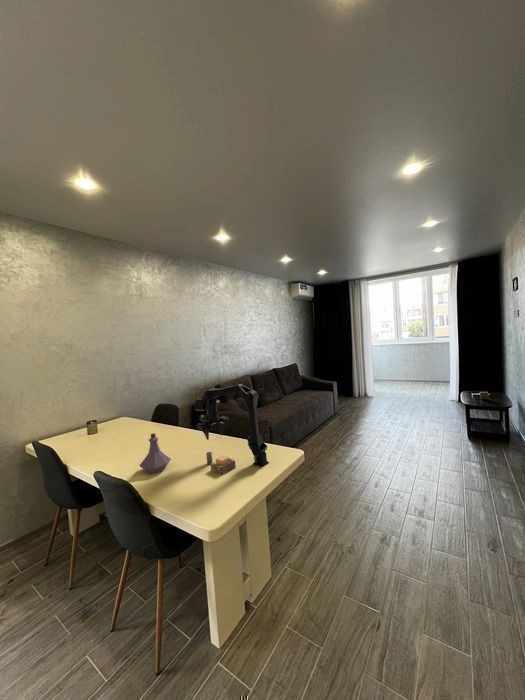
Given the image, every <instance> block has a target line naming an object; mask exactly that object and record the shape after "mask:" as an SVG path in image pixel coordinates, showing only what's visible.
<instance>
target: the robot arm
mask: <svg viewBox="0 0 525 700" xmlns="http://www.w3.org/2000/svg"><path fill="white" fill-rule="evenodd" d="M233 393H237V394H238V395H239V396H240V397H241V398H242V399H243V400H244V403H245V406H246V407H247V412H248V421H249V430H250V431H249V432H250V435H249V436H248V437H247V446H248V448H249V450H250V451H251V453H252V455H253V460H254V462H252V465H254V466H257V467H259V468H262V467H264V466H265V465H267V464H269V463H270V461H268V459H267V452H266V451H267V450H268V446H267V444H266V443H265V442H264V441H263V436H262V434H261V433H260V428H259V418H258V411H257V407H258V402H259V393H258V392H257V391H256V390H254V389H251V388H249V387H247V386H246V385H244V384H241V383H239V384H235V385H230V386H226V387H223V388H210V389H207V390H205V391H204V395H203V397H202V398H197V399H195V403H194V405H193V408H194V410H195V411H198V412H199V411H200V412H201V411H202V412H205V411H206V413H205V415H204V414H200V415H199V421H200V422H199V423H197V425H196V429H197V430H200V431H202V433H203V434H204V437H205V438H206V440H207V441H209V438H210V434H209V433H210V429H209V427H210V426H213V425H216V424H217V425H218V427H219V428H218V429H219V435H220V436H222V435H223V433H224V430H225V427H226V426H227V425H228V422H229V421H230V419H229V417H228V416H224V415H222V416H219V414H220V413H219V411H218V405H217V404H220V403H221V401H220V400H219V399H218V397H220V396H225V395H229V394H233Z"/></svg>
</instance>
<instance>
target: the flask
mask: <svg viewBox="0 0 525 700" xmlns="http://www.w3.org/2000/svg"><path fill="white" fill-rule="evenodd" d="M158 440H159V437H157V436H156V433H155V432H154V433H151V434H150V438H149V439H148V441H149V449H148V453H147V455H146V456H145V458H144V459H143V460H142V462H141V463H140V464H139V465H138V466H139V467H140V468H141V469H143V470H144V471H145V472H146V473H148V475H154V474H155V475H156V474H158V473H159V474H160V473H161V472H163V471H164V470H165V469H166V468H167V466H168V465H169V463H170V461H171V460H172V459H171V458H170V457H169V456H168V455H166V454H165V453H164V452H162V450H161V449H160V446H159V443H158Z"/></svg>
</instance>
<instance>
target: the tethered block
mask: <svg viewBox="0 0 525 700" xmlns="http://www.w3.org/2000/svg"><path fill="white" fill-rule="evenodd" d="M229 458H230V457H229V456H226V455H221V456H219V457H216V458H215V464H217V465H219V466H223V465H225V464H227V463H229ZM210 463H214V462H213V453H212V451H207V452H206V464H207V465H208V466H211V465H210Z"/></svg>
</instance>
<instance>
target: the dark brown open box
mask: <svg viewBox="0 0 525 700" xmlns="http://www.w3.org/2000/svg"><path fill="white" fill-rule="evenodd" d="M209 466H210V471H212V472H213V473H215V474H218V475H220V476H223V475H225V474H227V473H228V472H230V471H233V470H235V469H236V468H237V467H236V466H237V465H236V460H235V459H232V458H230V457H229V463H227V464H225V465H223V466H219V465H217V464H216V462H213V463H210V465H209Z"/></svg>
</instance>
